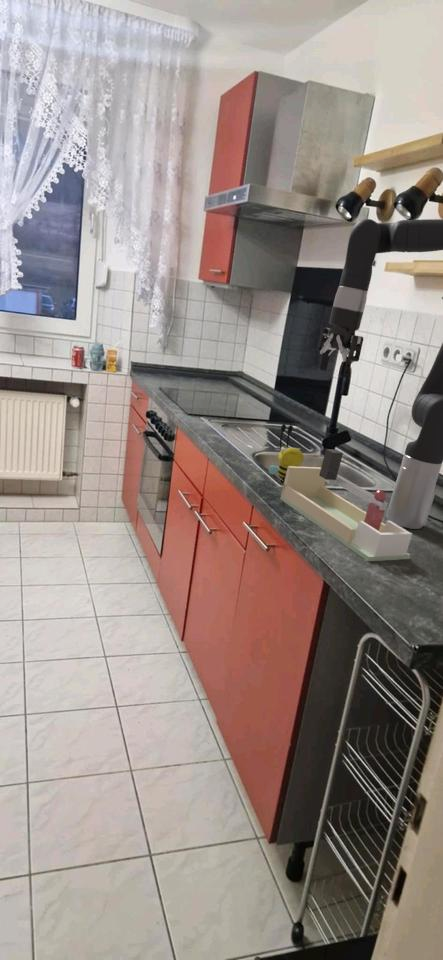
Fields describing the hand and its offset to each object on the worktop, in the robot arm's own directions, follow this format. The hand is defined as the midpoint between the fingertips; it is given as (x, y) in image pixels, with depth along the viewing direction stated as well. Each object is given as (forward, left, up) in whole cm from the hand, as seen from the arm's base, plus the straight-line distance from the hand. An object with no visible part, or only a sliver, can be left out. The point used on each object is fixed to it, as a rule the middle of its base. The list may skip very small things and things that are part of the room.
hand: (332, 373), depth 155 cm
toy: (0, -10, -32) cm, 34 cm away
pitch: (+4, +22, -32) cm, 39 cm away
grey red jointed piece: (+6, +25, -31) cm, 40 cm away
